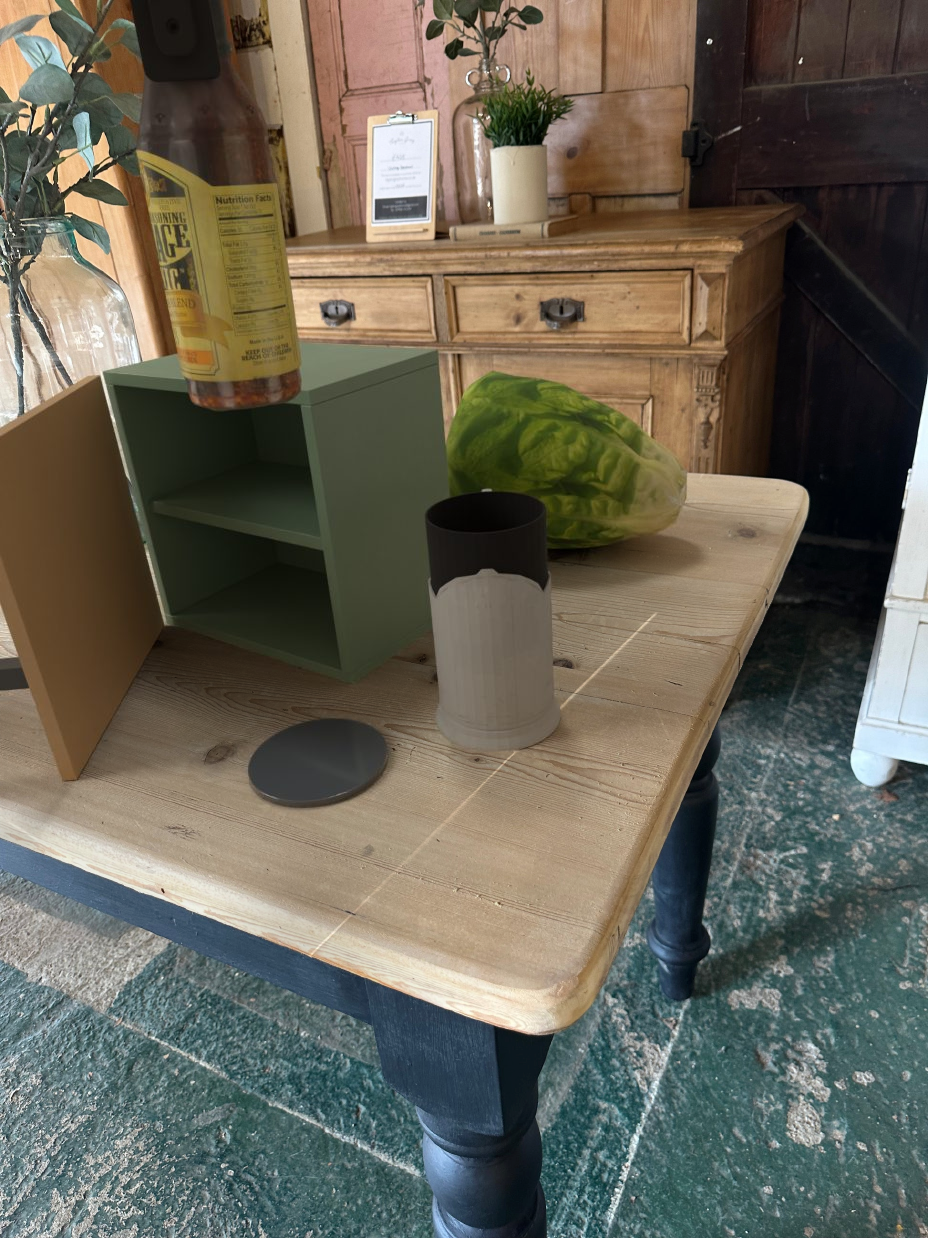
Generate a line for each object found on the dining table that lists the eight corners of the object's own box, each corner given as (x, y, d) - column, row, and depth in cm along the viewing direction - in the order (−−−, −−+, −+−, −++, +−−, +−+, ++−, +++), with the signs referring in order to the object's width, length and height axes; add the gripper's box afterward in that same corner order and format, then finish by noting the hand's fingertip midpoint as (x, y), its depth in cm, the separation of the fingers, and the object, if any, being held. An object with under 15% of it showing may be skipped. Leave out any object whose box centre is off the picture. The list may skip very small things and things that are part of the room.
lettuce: (659, 607, 86) (683, 536, 71) (436, 559, 90) (413, 482, 75) (690, 465, 91) (718, 370, 76) (477, 426, 96) (464, 328, 80)
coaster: (246, 820, 52) (244, 812, 51) (252, 736, 60) (250, 729, 59) (395, 795, 53) (394, 787, 53) (381, 716, 61) (380, 709, 60)
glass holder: (431, 755, 56) (408, 541, 49) (441, 648, 69) (425, 467, 62) (566, 749, 56) (561, 532, 49) (551, 643, 68) (546, 459, 62)
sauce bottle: (184, 399, 48) (90, -40, 39) (295, 384, 50) (229, -39, 41) (195, 422, 42) (89, -84, 34) (320, 404, 44) (250, -81, 36)
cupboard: (353, 685, 65) (308, 390, 55) (166, 623, 76) (101, 371, 66) (459, 610, 75) (438, 349, 65) (280, 565, 86) (238, 338, 76)
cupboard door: (-36, 789, 56) (-170, 467, 46) (81, 632, 76) (4, 382, 66) (77, 780, 56) (-34, 456, 46) (164, 625, 76) (100, 374, 66)
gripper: (33, -373, 38) (134, 107, 46) (-126, -730, 23) (63, 67, 32) (207, -371, 39) (274, 98, 47) (159, -713, 24) (270, 56, 33)
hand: (189, 80), depth 39 cm, fingers closed on sauce bottle, 4 cm apart
